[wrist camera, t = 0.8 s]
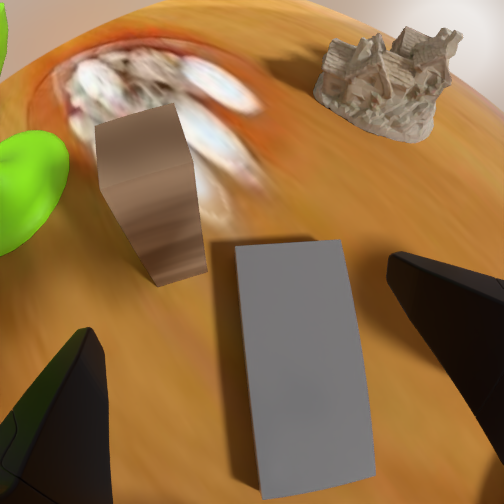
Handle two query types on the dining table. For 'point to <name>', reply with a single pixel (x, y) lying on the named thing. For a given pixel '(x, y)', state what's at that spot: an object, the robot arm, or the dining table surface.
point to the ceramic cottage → (388, 82)
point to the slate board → (303, 368)
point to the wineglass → (28, 175)
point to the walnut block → (153, 191)
